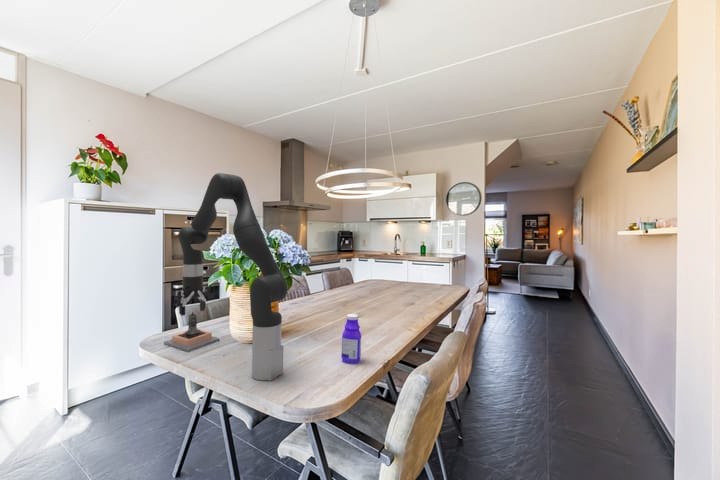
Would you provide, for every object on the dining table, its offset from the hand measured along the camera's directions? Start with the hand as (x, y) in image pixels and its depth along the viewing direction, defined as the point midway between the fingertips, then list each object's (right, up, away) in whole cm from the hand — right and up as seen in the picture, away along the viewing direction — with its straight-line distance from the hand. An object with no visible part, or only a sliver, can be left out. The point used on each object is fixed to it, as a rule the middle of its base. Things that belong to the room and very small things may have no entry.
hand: (192, 312), depth 122 cm
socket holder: (0, -13, 0) cm, 13 cm away
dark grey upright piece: (0, -12, 0) cm, 12 cm away
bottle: (+68, -15, -13) cm, 70 cm away
